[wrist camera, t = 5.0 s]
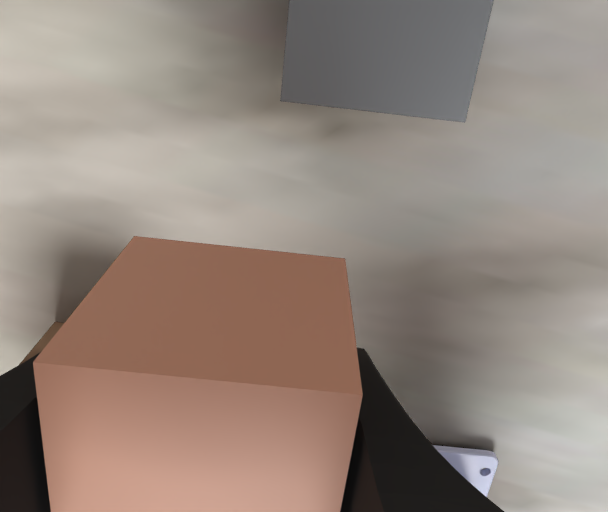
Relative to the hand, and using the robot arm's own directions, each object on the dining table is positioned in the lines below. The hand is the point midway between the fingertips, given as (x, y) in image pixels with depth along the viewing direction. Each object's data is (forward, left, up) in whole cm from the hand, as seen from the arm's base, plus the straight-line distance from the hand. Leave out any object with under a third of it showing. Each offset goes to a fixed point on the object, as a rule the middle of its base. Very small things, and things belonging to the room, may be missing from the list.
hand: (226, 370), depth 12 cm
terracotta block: (0, 0, -1) cm, 1 cm away
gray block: (+8, -3, -10) cm, 13 cm away
